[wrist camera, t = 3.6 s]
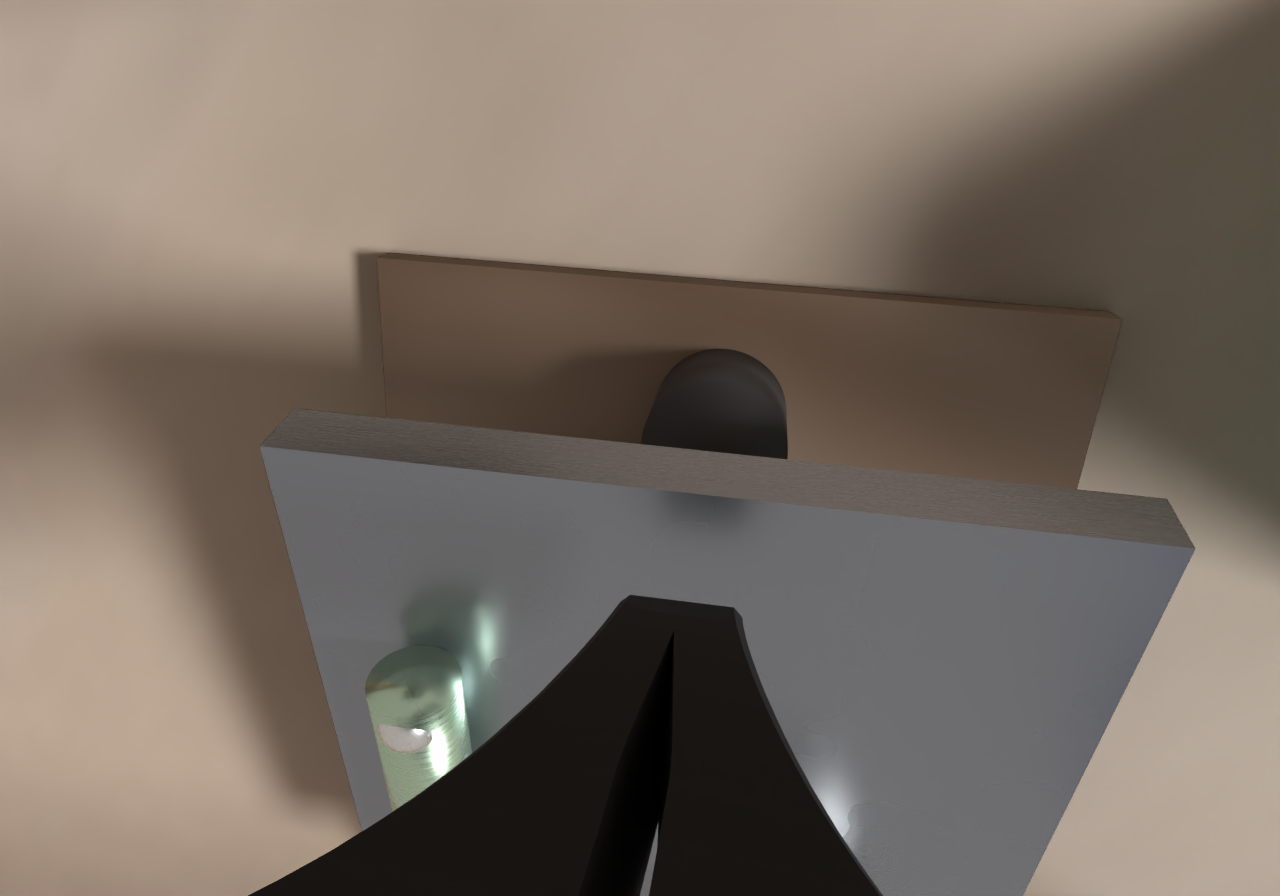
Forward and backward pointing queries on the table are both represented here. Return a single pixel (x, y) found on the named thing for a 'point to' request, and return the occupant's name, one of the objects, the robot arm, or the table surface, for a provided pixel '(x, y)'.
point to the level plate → (760, 592)
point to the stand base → (808, 333)
